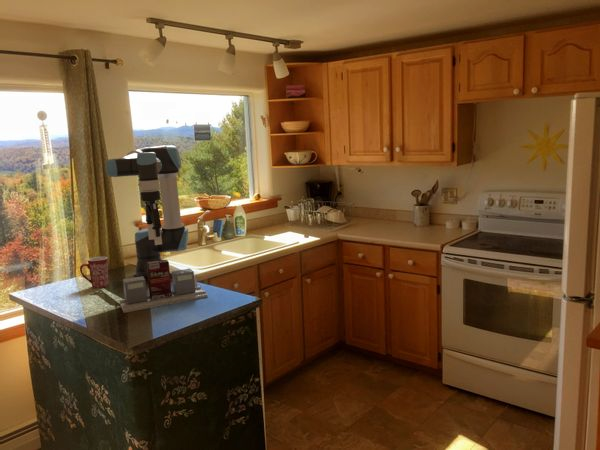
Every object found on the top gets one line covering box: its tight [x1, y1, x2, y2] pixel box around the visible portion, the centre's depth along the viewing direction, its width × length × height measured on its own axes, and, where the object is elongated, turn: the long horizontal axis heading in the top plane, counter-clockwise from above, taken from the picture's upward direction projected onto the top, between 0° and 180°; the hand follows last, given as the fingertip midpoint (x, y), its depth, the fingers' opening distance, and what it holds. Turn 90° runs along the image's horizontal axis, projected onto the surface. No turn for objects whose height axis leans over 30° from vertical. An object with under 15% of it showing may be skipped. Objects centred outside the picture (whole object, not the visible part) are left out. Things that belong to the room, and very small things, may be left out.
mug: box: [79, 256, 109, 289], centre depth 240 cm, size 13×9×14 cm
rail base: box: [119, 268, 208, 314], centre depth 211 cm, size 13×34×11 cm, turn 116°
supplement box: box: [146, 259, 172, 300], centre depth 210 cm, size 9×5×16 cm, turn 116°
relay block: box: [194, 274, 198, 287], centre depth 228 cm, size 5×5×6 cm
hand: (155, 241), depth 208 cm, fingers open, 13 cm apart
